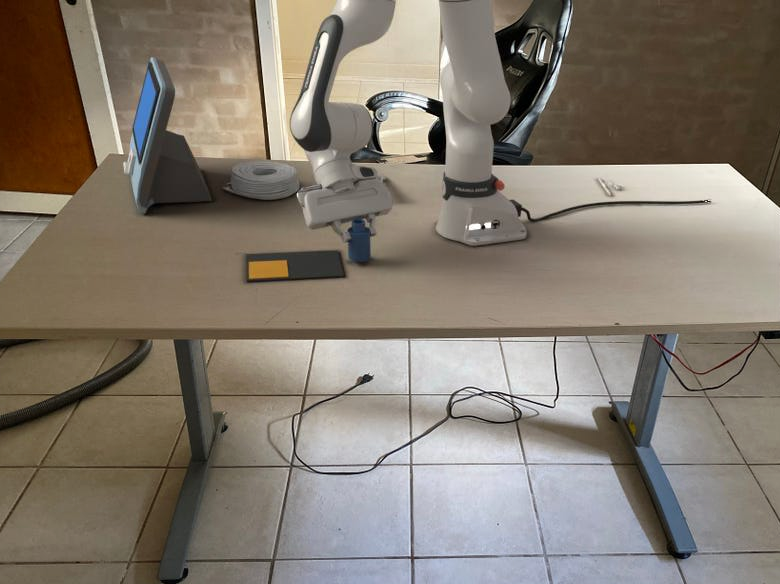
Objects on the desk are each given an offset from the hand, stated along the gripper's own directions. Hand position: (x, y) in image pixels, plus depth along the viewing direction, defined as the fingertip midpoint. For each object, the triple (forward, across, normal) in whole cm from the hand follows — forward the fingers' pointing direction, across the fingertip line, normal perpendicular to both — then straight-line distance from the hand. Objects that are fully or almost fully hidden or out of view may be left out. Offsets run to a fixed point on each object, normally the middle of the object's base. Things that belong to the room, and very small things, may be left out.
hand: (360, 238), depth 160 cm
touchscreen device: (-41, -23, +48) cm, 67 cm away
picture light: (-2, +88, +12) cm, 89 cm away
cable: (-32, -1, +40) cm, 51 cm away
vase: (+3, 0, +4) cm, 5 cm away
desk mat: (0, -14, +8) cm, 16 cm away
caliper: (-22, +28, +31) cm, 47 cm away
